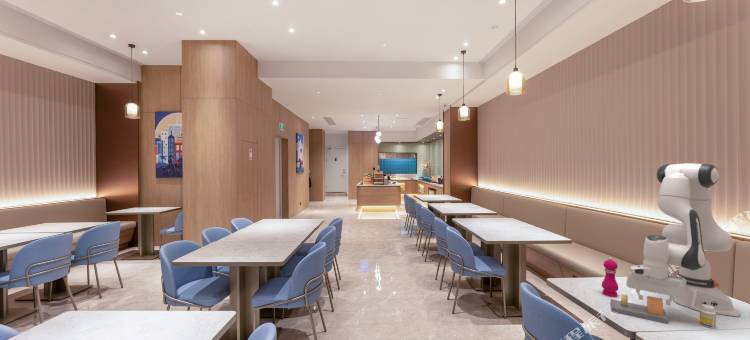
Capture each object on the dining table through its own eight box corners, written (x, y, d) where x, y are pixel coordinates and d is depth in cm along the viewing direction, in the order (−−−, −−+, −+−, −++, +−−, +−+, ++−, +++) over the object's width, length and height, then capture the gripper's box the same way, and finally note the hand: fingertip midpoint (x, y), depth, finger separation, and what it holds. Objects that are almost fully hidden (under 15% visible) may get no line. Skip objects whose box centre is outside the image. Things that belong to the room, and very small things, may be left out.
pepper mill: (621, 298, 168) (622, 259, 167) (605, 296, 169) (606, 258, 169) (613, 292, 175) (614, 255, 174) (598, 291, 176) (599, 255, 176)
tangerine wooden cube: (660, 311, 148) (661, 298, 148) (662, 315, 144) (663, 302, 144) (646, 308, 151) (647, 295, 151) (648, 312, 146) (648, 299, 146)
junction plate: (663, 313, 150) (664, 298, 150) (668, 324, 140) (669, 307, 140) (610, 302, 161) (610, 289, 161) (611, 311, 151) (611, 296, 151)
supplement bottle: (707, 323, 141) (707, 303, 141) (718, 328, 137) (719, 308, 137) (696, 323, 141) (696, 303, 141) (707, 328, 137) (708, 308, 137)
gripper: (684, 274, 144) (683, 305, 144) (626, 265, 155) (625, 294, 155) (688, 278, 138) (686, 310, 138) (627, 268, 150) (626, 298, 150)
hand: (654, 301), depth 147 cm, fingers open, 8 cm apart
